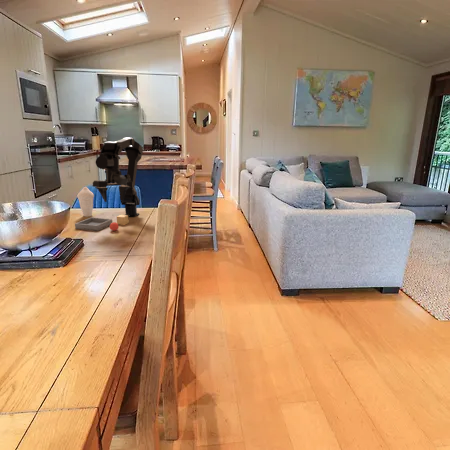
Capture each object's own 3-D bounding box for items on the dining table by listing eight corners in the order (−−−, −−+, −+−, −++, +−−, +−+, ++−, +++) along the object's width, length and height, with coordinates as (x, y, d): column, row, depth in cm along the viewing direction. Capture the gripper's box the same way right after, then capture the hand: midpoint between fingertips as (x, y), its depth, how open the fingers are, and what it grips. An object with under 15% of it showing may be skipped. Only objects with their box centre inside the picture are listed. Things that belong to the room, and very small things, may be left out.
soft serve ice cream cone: (91, 217, 166) (88, 188, 161) (76, 217, 166) (72, 187, 161) (98, 213, 174) (95, 185, 169) (83, 213, 174) (80, 185, 169)
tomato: (113, 229, 148) (112, 220, 147) (120, 229, 147) (120, 221, 146) (108, 231, 144) (107, 223, 143) (115, 232, 143) (115, 223, 142)
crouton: (121, 222, 160) (121, 214, 159) (128, 222, 159) (128, 215, 158) (117, 224, 156) (116, 216, 155) (124, 224, 155) (123, 217, 154)
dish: (91, 222, 158) (91, 217, 158) (112, 224, 156) (112, 219, 155) (75, 228, 147) (74, 223, 146) (97, 231, 144) (96, 225, 144)
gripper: (106, 169, 136) (107, 204, 139) (139, 169, 152) (140, 201, 155) (91, 168, 143) (92, 202, 146) (124, 168, 158) (125, 199, 161)
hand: (114, 201), depth 151 cm, fingers open, 9 cm apart
